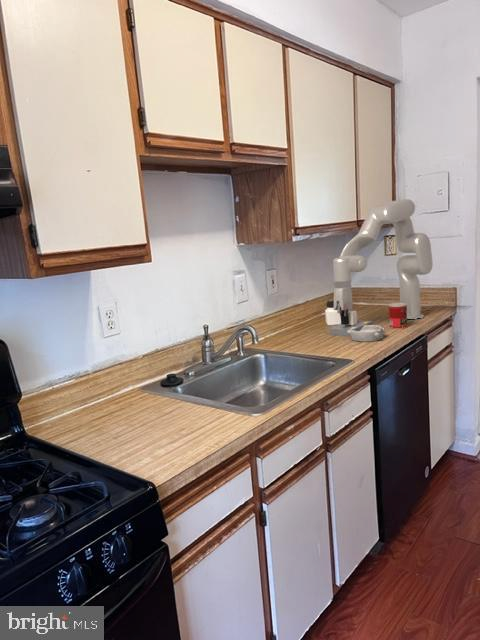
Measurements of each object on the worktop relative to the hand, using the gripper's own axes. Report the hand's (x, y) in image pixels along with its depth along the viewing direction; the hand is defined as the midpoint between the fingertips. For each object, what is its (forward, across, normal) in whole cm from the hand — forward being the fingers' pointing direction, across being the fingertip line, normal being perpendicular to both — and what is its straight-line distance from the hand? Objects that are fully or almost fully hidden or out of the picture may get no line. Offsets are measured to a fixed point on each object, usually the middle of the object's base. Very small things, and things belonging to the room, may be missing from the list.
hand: (344, 324), depth 218 cm
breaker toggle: (+1, -5, 0) cm, 5 cm away
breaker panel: (+4, -6, 0) cm, 7 cm away
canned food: (+5, -20, +17) cm, 26 cm away
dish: (+5, +6, +14) cm, 16 cm away
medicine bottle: (+5, -19, -17) cm, 26 cm away
